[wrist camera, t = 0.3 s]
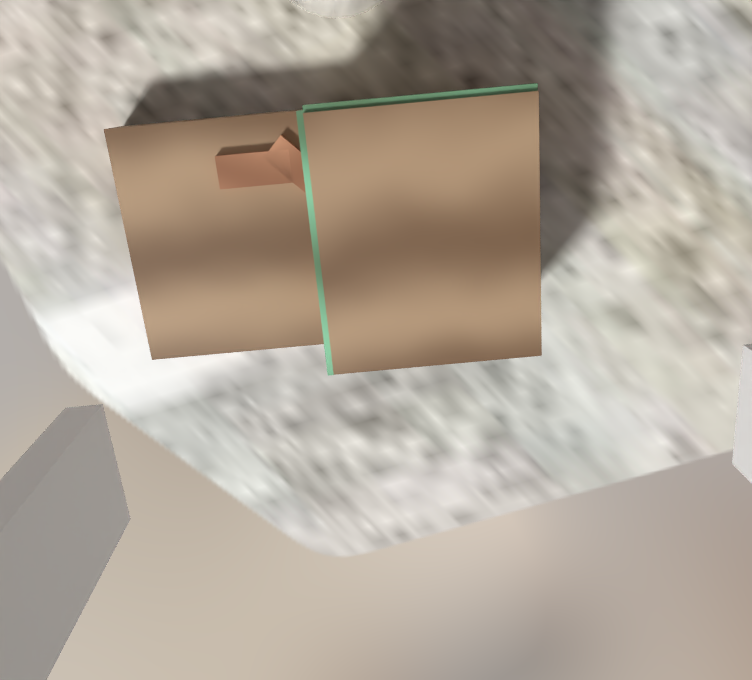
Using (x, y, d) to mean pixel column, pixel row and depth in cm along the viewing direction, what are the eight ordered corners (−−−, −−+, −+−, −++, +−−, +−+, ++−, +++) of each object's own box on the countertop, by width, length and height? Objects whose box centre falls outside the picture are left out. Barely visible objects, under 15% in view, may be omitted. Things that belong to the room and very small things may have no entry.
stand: (121, 120, 37) (66, 128, 30) (503, 84, 37) (538, 83, 30) (166, 342, 41) (126, 395, 34) (509, 311, 41) (541, 357, 34)
